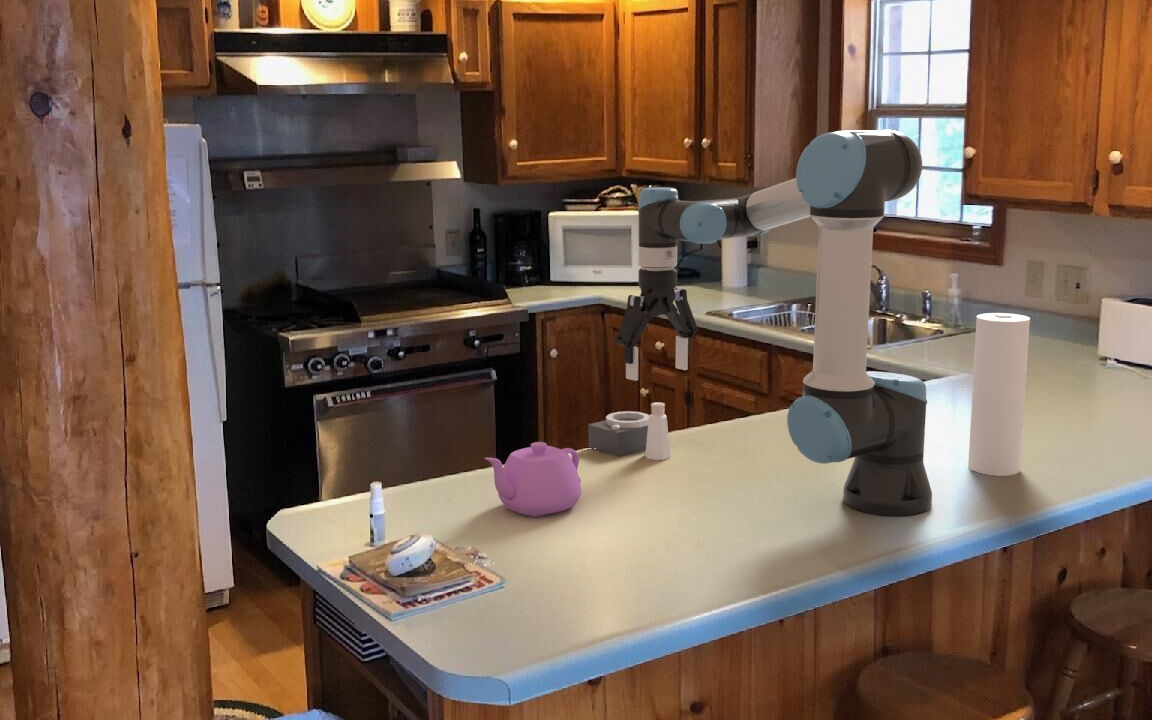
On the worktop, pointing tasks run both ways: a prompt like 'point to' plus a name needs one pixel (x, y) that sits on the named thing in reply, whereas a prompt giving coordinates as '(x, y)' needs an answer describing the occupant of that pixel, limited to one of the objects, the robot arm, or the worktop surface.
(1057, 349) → the worktop surface
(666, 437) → the salt shaker
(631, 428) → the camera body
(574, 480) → the teapot
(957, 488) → the worktop surface
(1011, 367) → the cylinder container
